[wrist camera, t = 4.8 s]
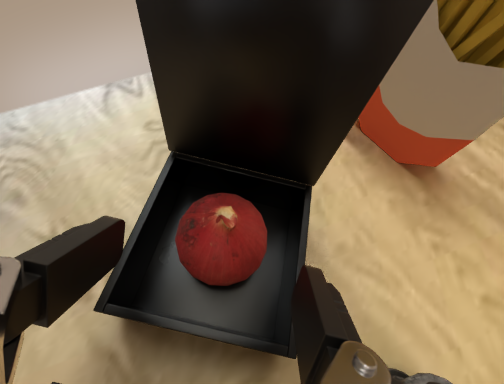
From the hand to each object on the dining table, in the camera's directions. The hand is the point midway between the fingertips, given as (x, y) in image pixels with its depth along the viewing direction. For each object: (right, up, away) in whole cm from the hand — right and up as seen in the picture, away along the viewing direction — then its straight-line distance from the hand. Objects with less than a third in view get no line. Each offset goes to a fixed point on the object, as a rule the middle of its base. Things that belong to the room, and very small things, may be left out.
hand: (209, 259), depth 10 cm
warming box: (-1, -2, +9) cm, 9 cm away
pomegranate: (-1, -2, +8) cm, 9 cm away
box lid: (+2, +8, +2) cm, 8 cm away
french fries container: (+18, +9, +17) cm, 27 cm away
